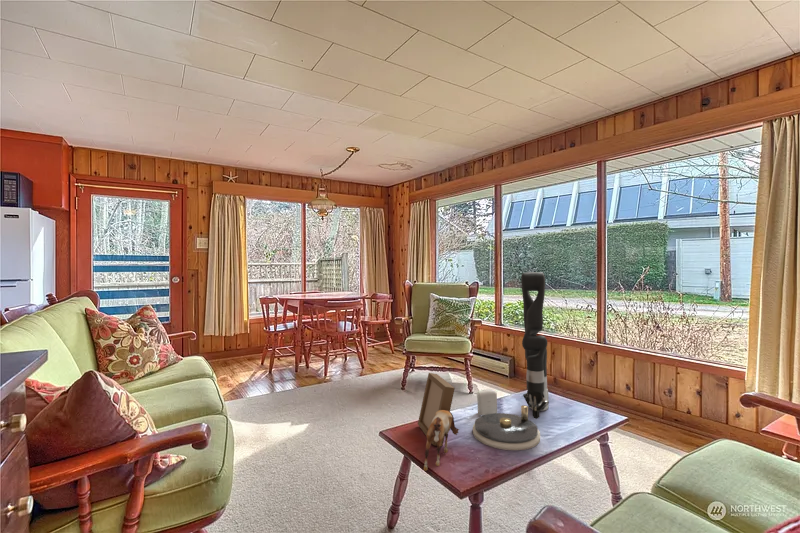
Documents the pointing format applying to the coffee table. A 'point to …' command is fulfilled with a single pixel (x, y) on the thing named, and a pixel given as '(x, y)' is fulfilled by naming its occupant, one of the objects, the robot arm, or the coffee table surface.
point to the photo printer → (487, 401)
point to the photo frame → (435, 401)
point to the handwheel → (507, 427)
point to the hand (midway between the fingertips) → (535, 418)
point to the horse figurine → (439, 432)
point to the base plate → (506, 445)
